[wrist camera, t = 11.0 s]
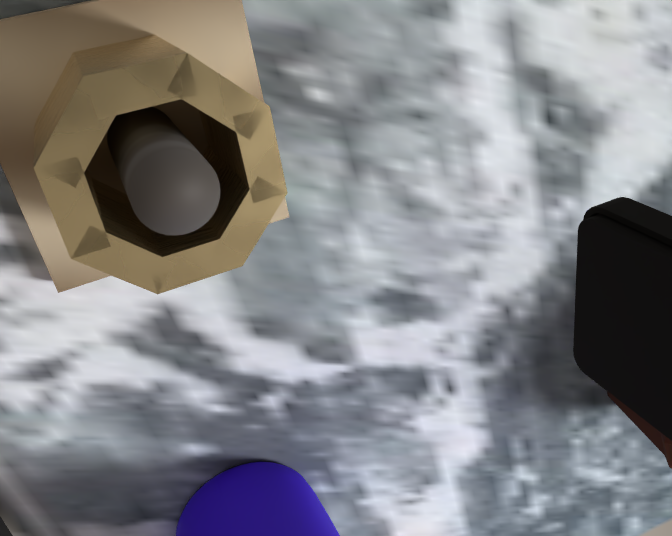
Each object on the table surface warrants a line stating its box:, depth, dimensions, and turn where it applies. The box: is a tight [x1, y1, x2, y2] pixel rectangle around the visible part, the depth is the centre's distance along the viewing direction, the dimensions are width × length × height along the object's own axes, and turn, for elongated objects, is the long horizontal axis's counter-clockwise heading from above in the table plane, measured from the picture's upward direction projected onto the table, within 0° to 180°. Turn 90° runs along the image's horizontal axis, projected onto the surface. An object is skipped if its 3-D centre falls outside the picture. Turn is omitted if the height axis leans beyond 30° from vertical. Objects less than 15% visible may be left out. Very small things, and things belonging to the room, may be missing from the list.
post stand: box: [0, 0, 289, 293], centre depth 22 cm, size 10×10×8 cm
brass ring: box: [34, 35, 287, 294], centre depth 22 cm, size 7×7×6 cm
